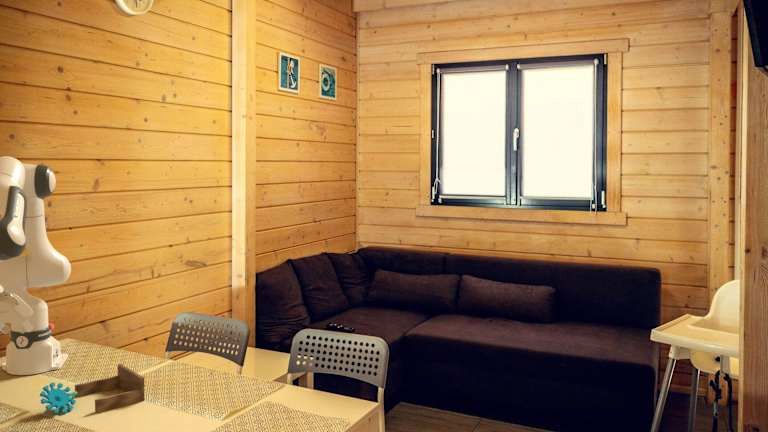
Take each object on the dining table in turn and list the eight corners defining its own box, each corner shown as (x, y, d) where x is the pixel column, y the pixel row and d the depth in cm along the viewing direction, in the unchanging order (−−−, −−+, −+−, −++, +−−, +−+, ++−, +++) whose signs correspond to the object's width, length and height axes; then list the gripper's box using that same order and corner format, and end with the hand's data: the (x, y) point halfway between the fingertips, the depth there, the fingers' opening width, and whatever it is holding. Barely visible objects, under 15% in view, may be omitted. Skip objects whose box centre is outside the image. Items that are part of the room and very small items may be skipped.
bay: (96, 412, 185) (95, 388, 184) (74, 396, 197) (74, 373, 196) (144, 400, 195) (144, 377, 194) (121, 385, 207) (120, 363, 206)
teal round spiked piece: (49, 414, 179) (36, 383, 183) (39, 426, 181) (26, 396, 185) (85, 407, 188) (72, 378, 192) (75, 418, 190) (62, 389, 194)
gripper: (16, 282, 166) (51, 320, 173) (-30, 288, 175) (4, 324, 182) (-2, 300, 161) (35, 338, 168) (-49, 305, 171) (-12, 341, 178)
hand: (18, 331), depth 175 cm, fingers open, 8 cm apart
